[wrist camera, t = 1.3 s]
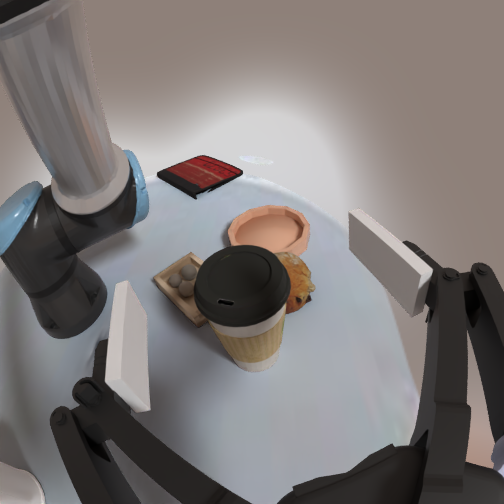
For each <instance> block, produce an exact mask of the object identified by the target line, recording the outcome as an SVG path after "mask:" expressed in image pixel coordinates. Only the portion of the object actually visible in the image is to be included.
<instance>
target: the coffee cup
mask: <svg viewBox="0 0 504 504" xmlns="http://www.w3.org/2000/svg"><path fill="white" fill-rule="evenodd" d="M290 290H291V282H290V277H289V274H288V272H287V270H286V268H285V267H284V265H283V264H282V263H281V262H280V260H279V259H278V257H277V256H276V255H275V254H273V253H272V252H271V251H269V250H267V249H265V248H262V247H259V246H254V245H236V246H231V247H227V248H225V249H222V250H220V251H218V252H216V253H214V254H213V255H211V256H210V257H208V258H207V259H206V260H205V261H204V262H203V264H202V265H201V266H200V268H199V270H198V272H197V276H196V281H195V284H194V290H193V291H194V301H195V304H196V306H197V308H198V310H199V311H200V313H201V314H202V315H203V316H204V317H206V318H207V320H208V322H209V324H210V326H211V327H212V329H213V330H214V332H215V334H216V335H217V337H218V338H219V340H220V341H221V343H222V345H223V346H224V348H225V349H226V351H227V352H228V353H229V355H230V356H232V358H233V360H234V361H235V363H236V364H237V365H238V366H239V367H240V368H241V369H243V370H245V371H248V372H261V371H264V370H266V369H268V368H270V367H271V366H272V365H273V364H274V363H275V362H276V361H277V359H278V356H279V350H280V344H281V341H282V334H283V327H284V319H285V312H286V302H287V300H288V297H289V295H290Z"/></svg>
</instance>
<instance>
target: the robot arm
mask: <svg viewBox="0 0 504 504" xmlns="http://www.w3.org/2000/svg"><path fill="white" fill-rule="evenodd" d="M0 84H1V86H2V88H3V90H4V92H5V94H6V96H7V98H8V100H9V102H10V104H11V106H12V108H13V110H14V111H15V114H16V116H17V117H18V119H19V121H20V123H21V125H22V127H23V128H24V130H25V132H26V134H27V135H28V137H29V139H30V141H31V142H32V144H33V146H34V147H35V149H36V151H37V153H38V154H39V156H40V157H41V159H42V161H43V162H44V164H45V166H46V167H47V169H48V170H49V172H50V173H51V175H52V180H51V185H49V186H47V187H45V188H43V186H42V184H40V183H39V182H38V181H34V182H32V183H29V184H27V185H25V186H23V187H22V188H20V189H19V190H18V191H16V192H15V193H14V194H13V195H12V196H11V197H10V198H8V199H7V200H6V201H5V203H4V204H3V205H2V206H1V207H0V257H1V259H2V260H3V262H4V263H5V265H6V266H7V268H8V269H9V271H10V272H11V273H12V275H13V276H14V278H15V279H16V280H17V282H18V283H19V285H20V286H21V287H22V289H23V290H24V291H25V292H26V294H27V295H28V296H29V298H30V301H31V304H32V306H33V309H34V312H35V314H36V317H37V319H38V322H39V324H40V325H41V327H42V328H43V329H44V330H45V331H46V332H47V333H48V334H49V335H50V336H52V337H54V338H58V339H65V338H70V337H73V336H75V335H78V334H80V333H81V332H83V331H84V330H86V329H87V328H88V327H89V326H91V325H92V324H93V323H94V322H95V320H96V319H97V318H98V317H99V315H100V314H101V312H102V310H103V308H104V306H105V303H106V299H107V289H106V286H105V284H104V283H103V281H102V279H101V278H100V276H99V275H98V274H97V273H96V272H95V271H94V270H92V269H91V268H90V267H89V266H88V265H86V264H85V263H84V262H83V261H81V260H80V259H79V258H78V257H77V255H76V253H78V252H80V251H81V250H83V249H85V248H87V247H89V246H91V245H93V244H95V243H97V242H99V241H101V240H103V239H105V238H108V237H110V236H112V235H114V234H116V233H118V232H120V231H122V230H124V229H129V228H131V227H132V226H134V225H135V224H136V223H138V222H140V221H142V220H144V219H145V218H146V217H147V215H148V212H149V197H148V192H147V190H146V184H145V179H144V176H143V173H142V170H141V167H140V165H139V163H138V160H137V158H136V156H135V155H134V153H133V152H132V151H130V150H122V149H121V148H120V147H119V146H117V145H116V144H114V143H112V142H111V138H110V135H109V131H108V127H107V123H106V119H105V116H104V112H103V107H102V103H101V99H100V94H99V90H98V86H97V81H96V76H95V72H94V67H93V61H92V56H91V51H90V45H89V39H88V33H87V27H86V20H85V13H84V5H83V0H0ZM349 250H350V251H351V252H352V253H353V254H354V255H355V256H356V257H357V258H358V259H359V260H360V261H361V262H362V263H363V264H364V266H365V267H366V268H367V269H368V270H369V271H370V272H371V273H372V274H373V275H374V276H375V277H376V278H377V279H378V281H379V282H380V283H381V284H382V285H383V286H384V287H385V288H386V289H387V290H388V292H389V293H390V294H391V295H392V296H393V297H394V298H395V299H396V300H397V302H398V303H399V304H400V305H401V306H402V307H403V308H404V309H405V311H406V312H407V313H408V314H409V315H410V316H411V317H414V316H416V315H418V314H419V313H421V312H423V309H424V305H425V303H426V304H427V306H428V307H429V311H428V314H427V318H426V321H425V322H426V323H427V321H428V327H427V343H426V355H425V356H426V357H425V366H424V375H423V383H422V390H421V397H420V404H419V410H418V415H417V421H416V426H415V430H414V433H413V435H412V438H411V441H410V444H409V446H397V447H394V445H393V444H390V445H388V446H386V447H384V448H382V449H381V450H379V451H377V452H375V453H373V454H371V455H369V456H368V457H367V458H365V459H364V460H363V461H362V462H360V463H359V464H358V465H356V466H355V467H354V468H353V469H351V470H350V471H348V472H346V473H342V474H336V475H330V476H324V477H318V478H315V479H313V480H310V481H307V482H304V483H301V484H299V485H296V486H293V491H291V492H290V493H288V494H287V495H286V496H284V497H283V498H282V499H281V500H280V501H279V502H278V503H277V504H504V292H503V290H502V288H501V286H500V284H499V282H498V280H497V278H496V276H495V274H494V272H493V271H492V269H491V268H490V267H489V266H488V265H486V264H484V263H475V264H473V265H472V268H471V271H470V272H466V273H459V272H458V271H456V270H455V269H452V268H442V267H441V266H440V265H439V264H438V263H436V262H435V261H434V260H433V259H432V258H431V257H429V256H428V255H426V253H425V252H424V251H421V249H420V248H419V247H418V246H416V245H415V244H413V243H411V242H409V241H404V242H401V241H400V240H398V239H397V238H396V237H395V236H393V235H392V234H391V233H390V232H389V231H387V230H386V229H385V228H384V227H382V226H381V225H380V224H379V223H377V222H376V221H375V220H374V219H372V218H371V217H370V216H368V215H367V214H366V213H365V212H363V211H362V210H361V209H355V210H352V211H349ZM467 330H468V333H469V337H470V340H471V343H472V346H473V350H474V354H475V357H476V361H477V365H478V369H479V373H480V376H481V381H482V385H483V390H484V395H485V399H486V404H487V410H488V415H489V421H490V426H491V431H492V435H493V438H494V441H495V445H494V449H493V453H492V455H491V460H492V462H493V463H494V467H493V469H491V468H487V467H483V466H479V465H476V464H472V463H469V462H465V461H466V454H467V447H468V439H469V430H470V420H471V407H470V406H469V405H467V379H468V350H467ZM72 396H73V398H74V400H75V401H76V402H77V403H78V404H80V406H78V407H76V408H74V409H72V410H69V409H68V408H67V407H65V406H60V407H58V408H56V409H55V410H54V411H53V413H52V414H51V417H50V425H51V429H52V432H53V435H54V438H55V441H56V443H57V446H58V449H59V452H60V454H61V457H62V460H63V462H64V465H65V467H66V470H67V472H68V474H69V477H70V479H71V481H72V483H73V486H74V488H75V490H76V492H77V494H78V496H79V499H80V501H81V503H82V504H141V502H140V501H139V499H138V498H137V496H136V495H135V493H134V492H133V490H132V489H131V487H130V486H129V484H128V482H127V481H126V479H125V477H124V476H123V474H122V472H121V471H120V469H119V467H118V466H117V464H116V462H115V460H114V458H113V457H112V455H111V453H110V451H109V449H108V447H107V445H106V444H105V442H104V441H106V440H108V439H110V438H111V439H112V440H113V441H114V442H115V444H116V445H117V446H118V447H119V448H120V449H121V450H122V451H123V452H124V453H125V454H126V455H127V456H128V457H129V458H130V459H131V460H132V461H134V462H135V463H136V464H137V465H138V466H139V467H140V468H141V469H142V470H143V471H144V472H145V473H146V474H148V475H149V476H150V477H151V478H152V479H153V480H154V481H155V482H157V483H158V484H159V485H160V486H161V487H163V488H164V489H165V490H166V491H167V492H169V493H170V494H171V495H172V496H174V497H175V498H176V499H177V500H179V501H180V502H181V503H183V504H252V503H250V502H248V501H246V500H245V499H243V498H241V497H240V496H238V495H236V494H235V493H233V492H231V491H230V490H228V489H226V488H225V487H223V486H222V485H220V484H219V483H217V482H216V481H214V480H212V479H211V478H209V477H208V476H207V475H205V474H204V473H202V472H201V471H199V470H198V469H196V468H195V467H194V466H192V465H191V464H189V463H188V462H187V461H185V460H184V459H183V458H181V457H180V456H179V455H177V454H176V453H175V452H174V451H172V450H171V449H170V448H168V447H167V446H166V445H165V444H163V443H162V442H161V441H160V440H159V439H157V438H156V437H155V436H154V435H153V434H151V433H150V432H149V431H148V430H147V429H146V428H144V427H143V426H142V425H141V424H140V423H139V422H138V421H136V420H135V419H134V418H133V417H132V416H131V414H130V408H131V409H132V410H133V411H134V412H135V413H139V412H144V411H149V410H151V409H150V395H149V378H148V352H147V314H146V312H145V310H144V309H143V307H142V305H141V303H140V301H139V300H138V298H137V296H136V294H135V292H134V290H133V288H132V287H131V285H130V283H129V281H128V280H126V281H123V282H120V283H117V284H116V287H115V293H114V300H113V307H112V314H111V322H110V330H109V339H106V340H102V341H100V342H99V344H98V346H97V348H96V350H95V360H94V367H93V376H92V378H91V377H85V378H82V379H81V380H79V381H78V382H77V383H76V384H75V386H74V388H73V391H72Z"/></svg>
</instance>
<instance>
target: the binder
mask: <svg viewBox="0 0 504 504" xmlns="http://www.w3.org/2000/svg"><path fill="white" fill-rule="evenodd" d="M242 174H243V171H242V170H241V169H239V168H237V167H235V166H233V165H230V164H227V163H225V162H223V161H220V160H217V159H215V158H212V157H209V156H205V155H202V156H197V157H194V158H192V159H189V160H186V161H184V162H181V163H178V164H176V165H174V166H171V167H168V168H166V169H163V170H161V171H159V172H157V176H158V178H160V179H162V180H163V181H165V182H167V183H169V184H170V185H172V186H174V187H175V188H177V189H179V190H181V191H183V192H184V193H186V194H188V195H189V196H191V197H193V198H194V199H197V197H196V194H197V193H203V192H205V191H207V190H208V189H210V188H212V189H211V190H209V191H208V192H210V191H212V190H214V189H216V188H218V187H220V186H222V185H224V184H226V183H228V182H230V181H232V180H234V179H235V178H237V177H239V176H241V175H242Z"/></svg>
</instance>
